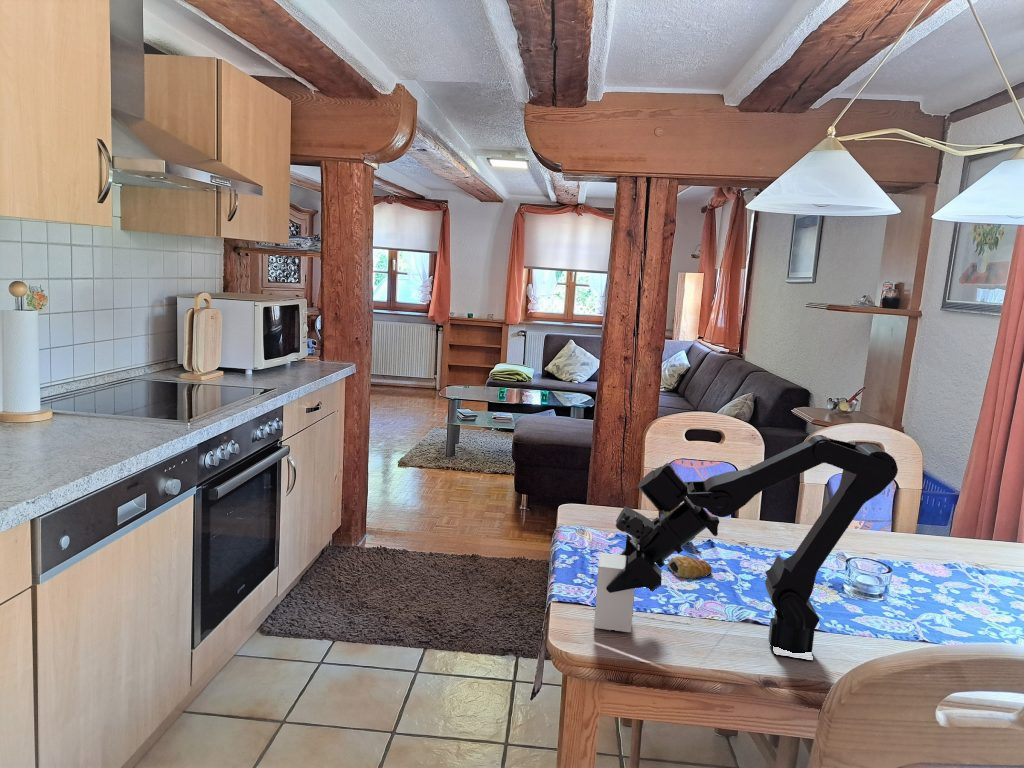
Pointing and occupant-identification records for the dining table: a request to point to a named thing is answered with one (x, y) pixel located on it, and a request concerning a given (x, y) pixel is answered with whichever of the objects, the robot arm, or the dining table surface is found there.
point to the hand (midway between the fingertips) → (608, 582)
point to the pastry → (689, 567)
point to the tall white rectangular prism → (612, 596)
